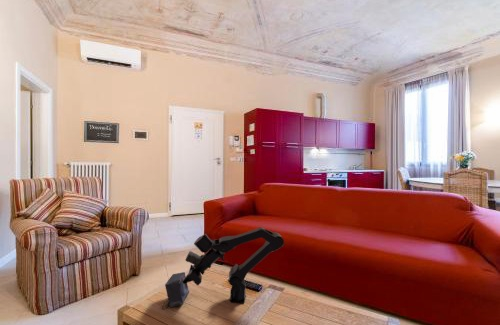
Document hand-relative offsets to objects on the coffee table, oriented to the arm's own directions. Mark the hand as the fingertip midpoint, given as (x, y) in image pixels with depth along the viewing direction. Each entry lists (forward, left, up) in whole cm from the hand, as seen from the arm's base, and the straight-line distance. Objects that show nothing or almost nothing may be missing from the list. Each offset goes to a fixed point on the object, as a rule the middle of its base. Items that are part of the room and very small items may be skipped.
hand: (183, 282), depth 117 cm
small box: (+1, 0, -8) cm, 8 cm away
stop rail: (+6, 0, -9) cm, 11 cm away
